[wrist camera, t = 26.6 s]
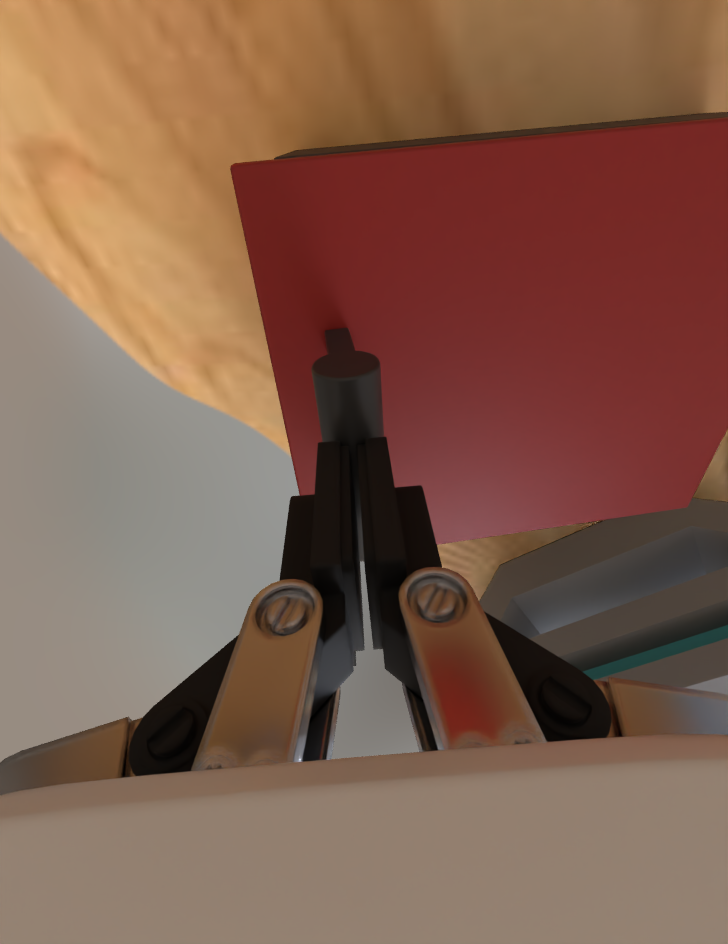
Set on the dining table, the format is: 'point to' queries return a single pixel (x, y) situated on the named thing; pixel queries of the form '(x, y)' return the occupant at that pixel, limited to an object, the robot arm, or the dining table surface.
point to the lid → (503, 317)
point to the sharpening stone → (628, 597)
